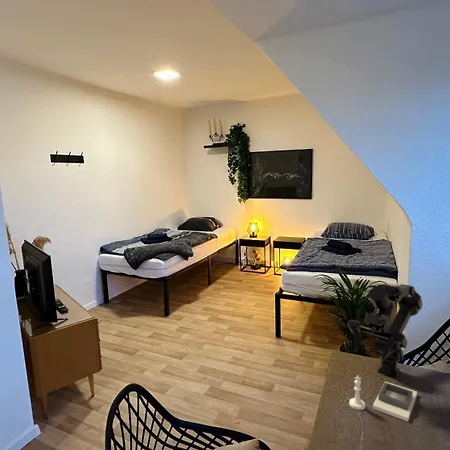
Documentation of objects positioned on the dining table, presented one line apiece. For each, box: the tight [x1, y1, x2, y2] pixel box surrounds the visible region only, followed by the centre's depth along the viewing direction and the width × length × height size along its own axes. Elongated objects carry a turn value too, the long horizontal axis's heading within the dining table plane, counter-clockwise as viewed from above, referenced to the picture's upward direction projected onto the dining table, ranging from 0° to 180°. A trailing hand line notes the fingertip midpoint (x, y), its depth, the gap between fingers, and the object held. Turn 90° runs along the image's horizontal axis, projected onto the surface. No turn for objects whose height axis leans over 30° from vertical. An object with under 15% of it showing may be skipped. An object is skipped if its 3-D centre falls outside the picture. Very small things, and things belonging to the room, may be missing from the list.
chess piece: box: [348, 375, 366, 411], centre depth 106 cm, size 5×5×10 cm
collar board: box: [372, 381, 418, 422], centre depth 107 cm, size 16×10×3 cm, turn 141°
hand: (368, 355), depth 110 cm, fingers open, 9 cm apart
